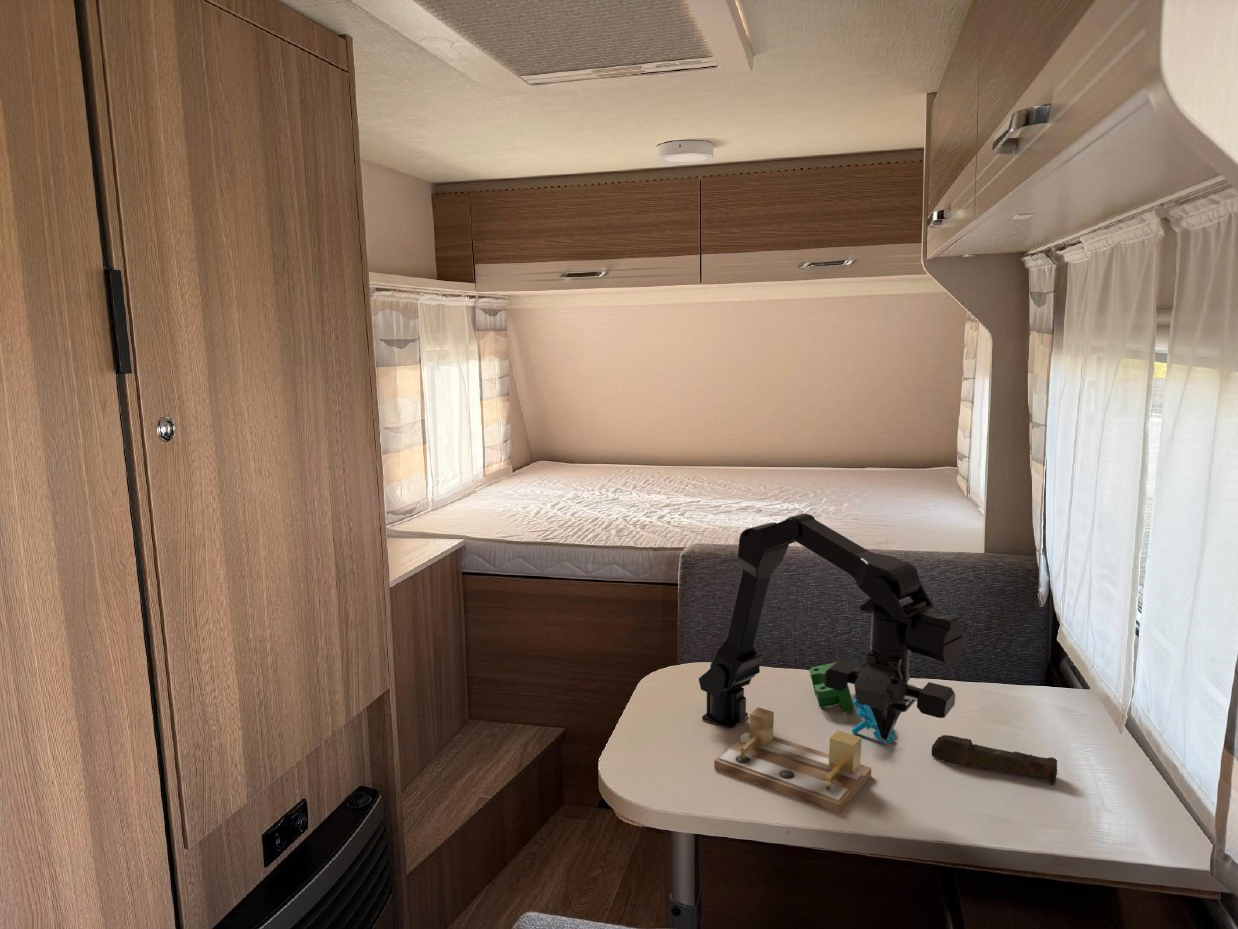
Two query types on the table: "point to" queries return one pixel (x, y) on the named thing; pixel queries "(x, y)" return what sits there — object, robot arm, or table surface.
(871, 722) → the gear
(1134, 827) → the table surface
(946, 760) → the hand tool
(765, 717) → the wooden base with blocks
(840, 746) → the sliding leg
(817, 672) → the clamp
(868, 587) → the robot arm
